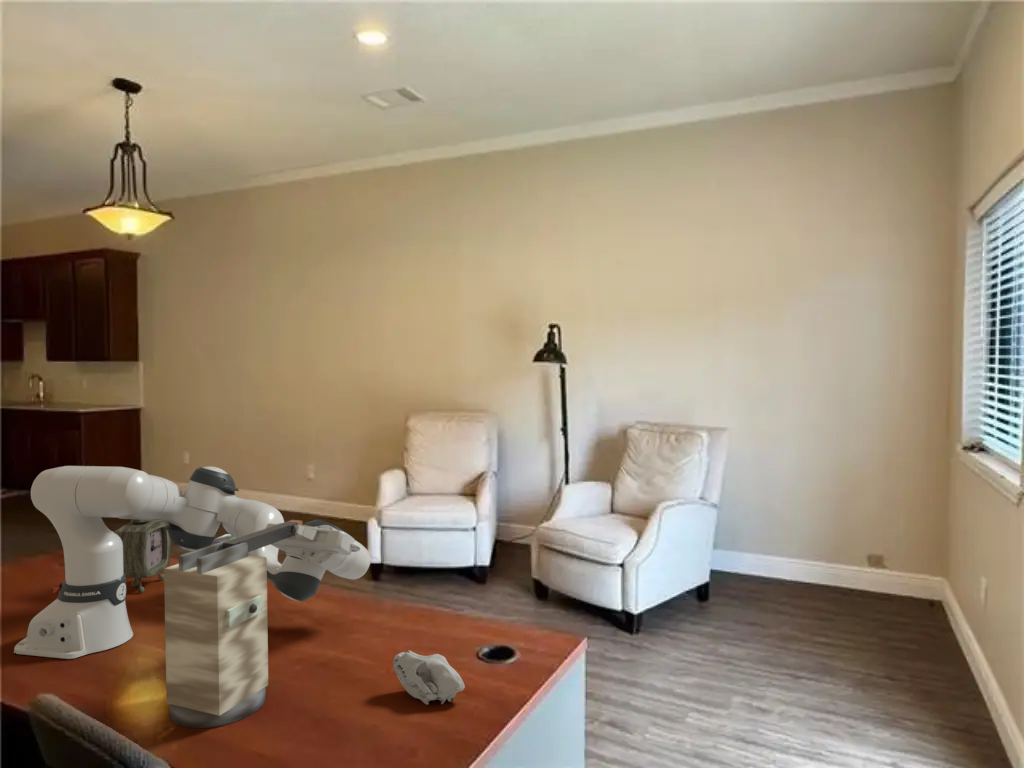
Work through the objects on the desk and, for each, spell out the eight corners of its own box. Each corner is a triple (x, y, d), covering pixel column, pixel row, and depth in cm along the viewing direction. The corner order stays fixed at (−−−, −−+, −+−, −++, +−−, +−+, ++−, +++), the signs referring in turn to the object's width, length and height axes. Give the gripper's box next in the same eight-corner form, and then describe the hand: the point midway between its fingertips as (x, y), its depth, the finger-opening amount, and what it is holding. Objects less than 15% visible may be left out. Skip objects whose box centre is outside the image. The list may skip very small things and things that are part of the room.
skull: (455, 698, 122) (406, 641, 125) (424, 729, 125) (377, 673, 128) (476, 675, 130) (429, 621, 133) (447, 704, 133) (401, 651, 136)
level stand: (219, 735, 115) (217, 565, 114) (148, 717, 121) (145, 555, 120) (284, 692, 130) (282, 541, 129) (218, 678, 136) (215, 533, 135)
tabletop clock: (143, 595, 184) (141, 501, 183) (109, 595, 184) (107, 501, 183) (171, 578, 198) (169, 491, 197) (139, 578, 198) (138, 491, 197)
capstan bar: (233, 557, 127) (233, 544, 127) (223, 556, 128) (222, 542, 128) (302, 532, 145) (302, 520, 145) (292, 531, 146) (292, 519, 146)
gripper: (359, 565, 149) (324, 547, 137) (282, 555, 156) (243, 538, 145) (367, 536, 151) (334, 517, 140) (291, 528, 159) (254, 509, 148)
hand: (287, 527), depth 142 cm, fingers open, 3 cm apart
